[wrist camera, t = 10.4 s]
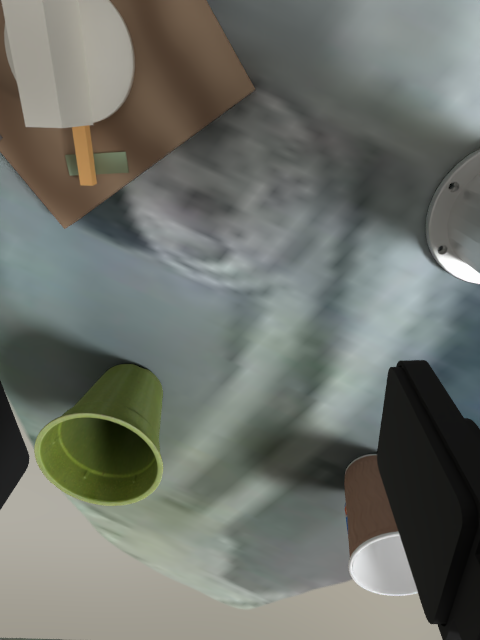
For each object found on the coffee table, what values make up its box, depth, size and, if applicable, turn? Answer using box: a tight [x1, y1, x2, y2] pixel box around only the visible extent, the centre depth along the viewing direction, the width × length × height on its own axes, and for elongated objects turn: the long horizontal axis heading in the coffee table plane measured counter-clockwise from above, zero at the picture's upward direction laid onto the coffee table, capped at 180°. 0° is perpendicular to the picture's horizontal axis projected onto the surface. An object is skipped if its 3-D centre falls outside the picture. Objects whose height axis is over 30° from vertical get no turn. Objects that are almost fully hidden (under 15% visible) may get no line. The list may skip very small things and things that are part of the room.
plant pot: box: [34, 364, 163, 506], centre depth 43 cm, size 12×12×11 cm
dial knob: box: [1, 0, 135, 186], centre depth 28 cm, size 14×9×6 cm, turn 178°
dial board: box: [0, 0, 255, 229], centre depth 32 cm, size 20×18×3 cm
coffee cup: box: [344, 454, 418, 596], centre depth 47 cm, size 10×10×12 cm
